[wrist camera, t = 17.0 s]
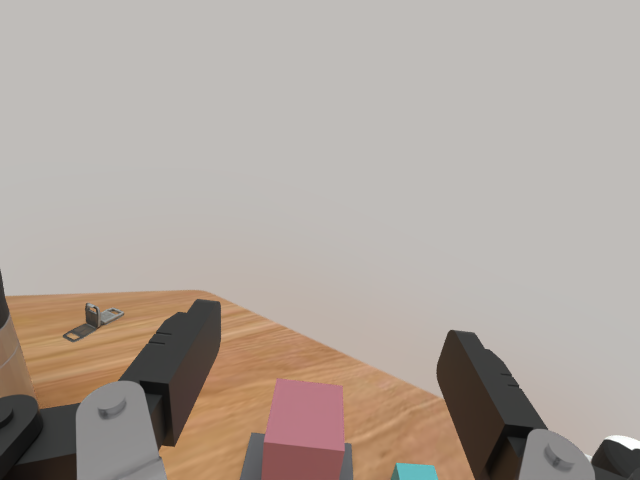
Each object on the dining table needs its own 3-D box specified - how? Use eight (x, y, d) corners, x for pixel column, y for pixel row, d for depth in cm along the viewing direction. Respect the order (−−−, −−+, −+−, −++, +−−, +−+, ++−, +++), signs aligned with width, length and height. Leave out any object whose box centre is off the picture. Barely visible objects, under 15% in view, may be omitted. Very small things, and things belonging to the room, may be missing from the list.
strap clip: (113, 310, 57) (110, 290, 55) (126, 316, 56) (123, 295, 54) (61, 338, 49) (56, 315, 48) (74, 345, 48) (69, 321, 47)
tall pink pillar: (258, 529, 30) (263, 441, 25) (270, 459, 36) (277, 378, 31) (326, 537, 30) (344, 451, 25) (327, 465, 36) (342, 385, 31)
